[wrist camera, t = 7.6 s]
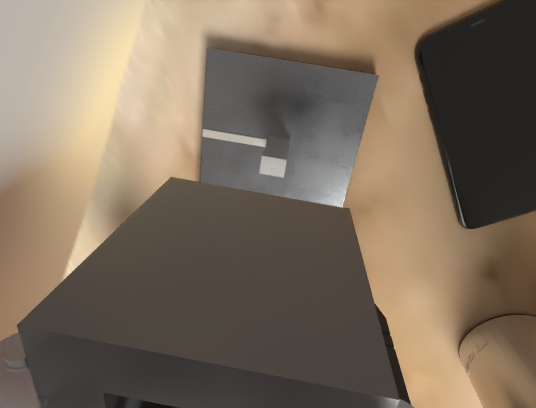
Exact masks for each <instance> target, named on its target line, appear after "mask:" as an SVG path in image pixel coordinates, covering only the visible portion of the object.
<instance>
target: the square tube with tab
mask: <svg viewBox="0 0 536 408" xmlns="http://www.w3.org/2000/svg"><path fill="white" fill-rule="evenodd" d="M17 327H18V331H19V334H20V338H21V341H22V345H23V348H24V352H25V355H26V359H27V362H28V366H29V369H30V373H31V376H32V380H33V384H34V387H35V391H36V394H37V395H38V396H43V397H46V400H47V404H48V408H396V406H397V405H398V403H399V401H400V399H399V395H398V392H397V388H396V384H395V380H394V376H393V373H392V369H391V365H390V361H389V357H388V353H387V350H386V346H385V342H384V338H383V334H382V331H381V327H380V323H379V319H378V315H377V312H376V308H375V304H374V300H373V296H372V292H371V289H370V285H369V281H368V277H367V273H366V270H365V266H364V262H363V258H362V254H361V251H360V247H359V243H358V239H357V235H356V231H355V228H354V224H353V220H352V216H351V212H350V209H348V208H343V207H337V206H331V205H326V204H320V203H314V202H309V201H303V200H298V199H292V198H286V197H281V196H275V195H269V194H264V193H258V192H253V191H247V190H241V189H236V188H230V187H224V186H219V185H213V184H208V183H202V182H196V181H191V180H185V179H179V178H174V177H171V178H170V179H169V180H168V181H166V182H165V183H164V184H163V185H162V186H161V187H160V188H159V189H158V190H157V191H156V192H155V193H154V194H153V195H152V196H151V197H150V198H149V199H148V200H147V201H146V202H145V203H144V204H143V205H141V206H140V207H139V208H138V209H137V210H136V211H135V212H134V213H133V214H132V215H131V216H130V217H129V218H128V219H127V220H126V221H125V222H124V223H123V224H122V225H121V226H120V227H119V228H118V229H116V230H115V231H114V232H113V233H112V234H111V235H110V236H109V237H108V238H107V239H106V240H105V241H104V242H103V243H102V244H101V245H100V246H99V247H98V248H97V249H96V250H95V251H94V252H93V253H92V254H90V255H89V256H88V257H87V258H86V259H85V260H84V261H83V262H82V263H81V264H80V265H79V266H78V267H77V268H76V269H75V270H74V271H73V272H72V273H71V274H70V275H69V276H68V277H67V278H65V279H64V280H63V281H62V282H61V283H60V284H59V285H58V286H57V287H56V288H55V289H54V290H53V291H52V292H51V293H50V294H49V295H48V296H47V297H46V298H45V299H44V300H43V301H42V302H41V303H40V304H38V306H36V307H35V308H34V309H33V310H32V311H31V312H30V313H29V314H28V315H27V316H26V317H25V318H24V319H23V320H22V321H21V322H20V323H19V324H18V325H17Z"/></svg>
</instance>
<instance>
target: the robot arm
mask: <svg viewBox="0 0 536 408" xmlns="http://www.w3.org/2000/svg"><path fill="white" fill-rule="evenodd" d="M375 308H376V312H377V315H378V319H379V323H380V327H381V331H382V334H383V338H384V342H385V346H386V350H387V353H388V357H389V361H390V365H391V369H392V373H393V376H394V380H395V384H396V388H397V392H398V395H399V399H400V401H399V403H398V405H397V406H396V408H414V407H413V406H412V405H411V403H410V400H409V396H408V393H407V390H406V386H405V383H404V379H403V376H402V372H401V369H400V365H399V362H398V359H397V355H396V352H395V349H394V345H393V341H392V338H391V336H390V331H389V328H388V324H387V321H386V318H385V316H384V315H383V314H382V312H381V311H380V310H379V308H378V307H377V306H376V304H375ZM459 356H460V360H461V362H462V364H463V367H464V369H465V371H466V373H467V375H468V377H469V379H470V381H471V383H472V385H473V387H474V389H475V391H476V393H477V395H478V397H479V399H480V402H481V404H482V406H483V408H536V317H534V316H529V315H509V316H502V317H499V318H495V319H492V320H489V321H487V322H484V323H482V324H481V325H479V326H477V327H476V328H474V329H473V330H472V331H471V332H469V333H468V334H467V336H466V337H465V338H464V339H463V341H462V343H461V346H460V350H459ZM0 408H48V404H47V400H46V397H43V396H38V395H37V394H36V391H35V387H34V384H33V380H32V376H31V373H30V369H29V366H28V362H27V359H26V355H25V352H24V348H23V345H22V341H21V338H20V334H19V332H18V333H16V334H13V335H11V336H9V337H7V338H5V339H4V340H2V341H0Z"/></svg>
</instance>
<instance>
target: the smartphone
mask: <svg viewBox="0 0 536 408" xmlns="http://www.w3.org/2000/svg"><path fill="white" fill-rule="evenodd" d="M415 60H416V64H417V68H418V72H419V77H420V80H421V83H422V87H423V93H424V97H425V100H426V104H427V106H428V112H429V116H430V119H431V121H432V125H433V129H434V132H435V136H436V140H437V144H438V148H439V151H440V155H441V159H442V163H443V166H444V170H445V174H446V178H447V182H448V185H449V189H450V193H451V197H452V200H453V204H454V208H455V212H456V215H457V219H458V222H459V223H460V225H461V226H462V227H464V228H466V229H475V228H479V227H482V226H486V225H489V224H493V223H496V222H499V221H503V220H506V219H509V218H513V217H516V216H520V215H523V214H526V213H530V212H533V211H536V0H502V1H499V2H497V3H495V4H493V5H491V6H489V7H487V8H484V9H482V10H480V11H478V12H476V13H474V14H472V15H469V16H467V17H465V18H463V19H461V20H459V21H457V22H455V23H452V24H450V25H448V26H446V27H444V28H442V29H440V30H438V31H436V32H434V33H431V34H429V35H427V36H426V37H424V38H423V39H422V40H421V41H420V42H419V43H418V45H417V47H416V50H415Z"/></svg>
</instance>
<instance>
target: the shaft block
mask: <svg viewBox="0 0 536 408" xmlns="http://www.w3.org/2000/svg"><path fill="white" fill-rule="evenodd" d="M378 76H379V75H377V74H372V73H366V72H359V71H353V70H347V69H340V68H334V67H328V66H322V65H315V64H309V63H303V62H296V61H290V60H284V59H278V58H271V57H265V56H259V55H252V54H246V53H240V52H234V51H227V50H221V49H215V48H207V61H206V81H205V101H204V121H203V134H202V137H203V141H202V161H201V181H200V182H202V183H208V184H213V185H219V186H224V187H230V188H236V189H241V190H247V191H253V192H258V193H264V194H269V195H275V196H281V197H286V198H292V199H298V200H303V201H309V202H314V203H320V204H326V205H331V206H337V207H343V203H344V199H345V196H346V192H347V189H348V185H349V181H350V178H351V174H352V170H353V167H354V163H355V159H356V156H357V152H358V149H359V145H360V141H361V138H362V134H363V130H364V127H365V123H366V119H367V116H368V112H369V109H370V105H371V101H372V98H373V94H374V90H375V87H376V83H377V79H378Z"/></svg>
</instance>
